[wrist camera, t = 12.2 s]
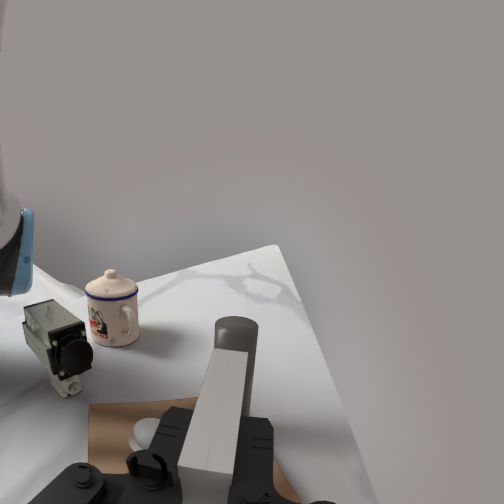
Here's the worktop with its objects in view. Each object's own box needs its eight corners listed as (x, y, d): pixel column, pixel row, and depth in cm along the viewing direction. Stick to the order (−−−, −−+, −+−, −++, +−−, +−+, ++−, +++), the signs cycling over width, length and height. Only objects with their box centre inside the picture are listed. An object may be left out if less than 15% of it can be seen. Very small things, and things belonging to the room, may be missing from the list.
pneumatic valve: (61, 363, 38) (48, 287, 35) (104, 403, 32) (89, 317, 29) (31, 375, 33) (13, 296, 30) (69, 420, 27) (46, 331, 25)
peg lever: (141, 455, 24) (123, 354, 21) (131, 429, 27) (116, 330, 25) (255, 426, 31) (266, 330, 28) (237, 406, 34) (244, 313, 31)
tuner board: (91, 409, 30) (89, 401, 30) (231, 398, 37) (232, 390, 37) (97, 539, 14) (93, 534, 14) (299, 506, 21) (302, 500, 21)
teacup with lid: (82, 330, 48) (76, 267, 46) (125, 319, 55) (122, 260, 53) (111, 362, 41) (103, 289, 39) (160, 346, 48) (158, 278, 45)
